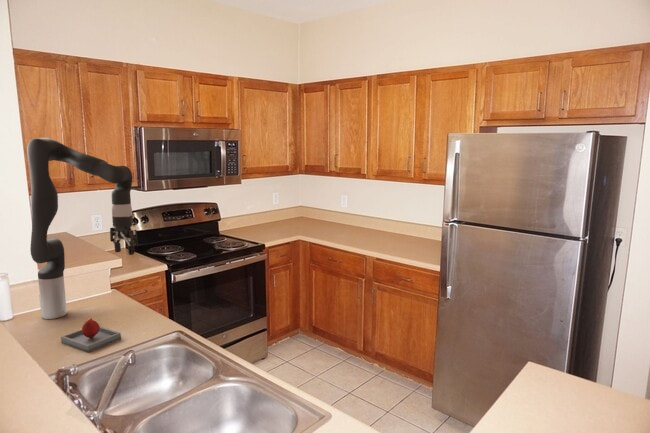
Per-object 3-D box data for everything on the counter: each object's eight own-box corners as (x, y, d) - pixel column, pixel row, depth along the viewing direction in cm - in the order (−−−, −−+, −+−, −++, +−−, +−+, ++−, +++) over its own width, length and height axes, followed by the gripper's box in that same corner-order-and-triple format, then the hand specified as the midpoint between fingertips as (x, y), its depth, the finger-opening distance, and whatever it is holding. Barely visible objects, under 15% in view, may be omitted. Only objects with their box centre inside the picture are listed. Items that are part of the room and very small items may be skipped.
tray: (61, 343, 161) (60, 336, 160) (94, 330, 172) (94, 324, 172) (88, 352, 153) (87, 346, 153) (121, 339, 164) (120, 332, 164)
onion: (92, 342, 159) (91, 321, 158) (78, 340, 160) (77, 320, 159) (103, 335, 165) (102, 315, 164) (90, 334, 166) (88, 314, 165)
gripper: (102, 214, 179) (105, 253, 182) (125, 217, 172) (128, 257, 175) (119, 212, 186) (121, 249, 188) (141, 214, 179) (143, 253, 181)
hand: (124, 253), depth 181 cm, fingers open, 8 cm apart
